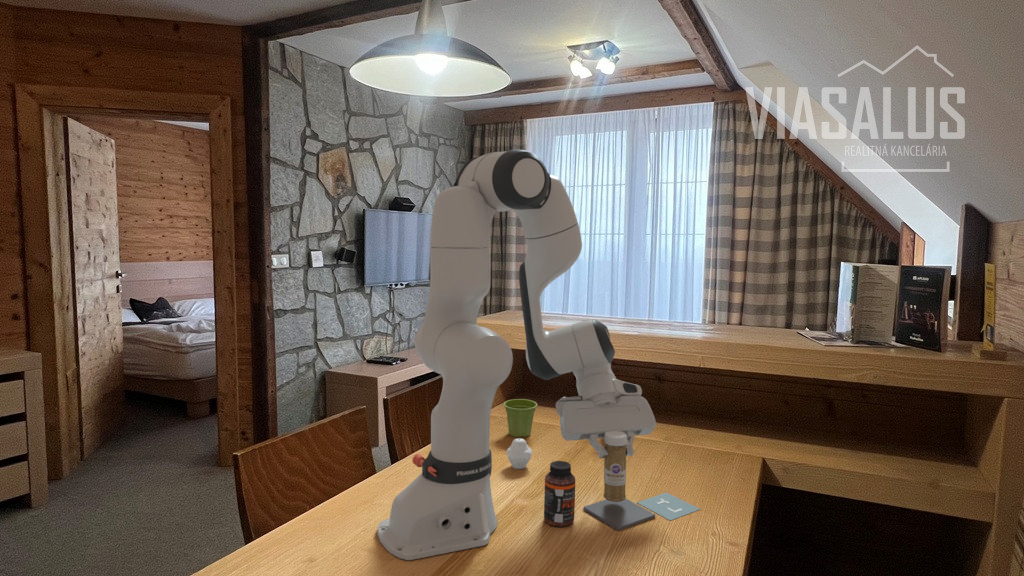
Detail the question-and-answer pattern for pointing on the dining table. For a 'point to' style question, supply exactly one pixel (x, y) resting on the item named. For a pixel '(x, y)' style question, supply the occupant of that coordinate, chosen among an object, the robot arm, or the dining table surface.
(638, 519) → the slate coaster
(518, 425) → the plant pot
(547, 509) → the supplement bottle
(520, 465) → the white rounded piece
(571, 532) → the dining table surface
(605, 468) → the sprinkles bottle
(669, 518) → the tile
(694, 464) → the dining table surface
